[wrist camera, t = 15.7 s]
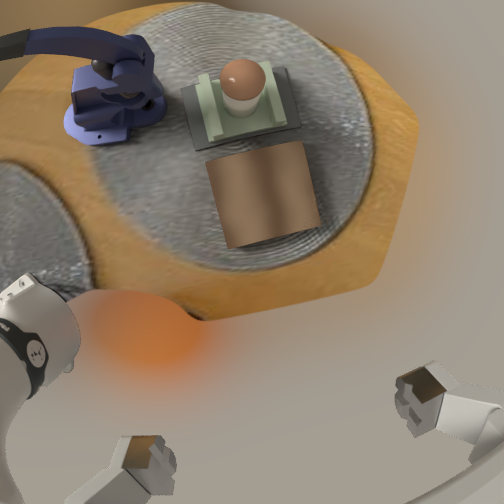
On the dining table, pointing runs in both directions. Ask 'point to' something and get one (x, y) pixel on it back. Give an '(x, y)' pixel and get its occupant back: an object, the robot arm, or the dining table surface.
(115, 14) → the dining table surface
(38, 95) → the dining table surface
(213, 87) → the rack
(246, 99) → the mushroom
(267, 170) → the board
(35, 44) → the hand press
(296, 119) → the mat
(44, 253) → the dining table surface
